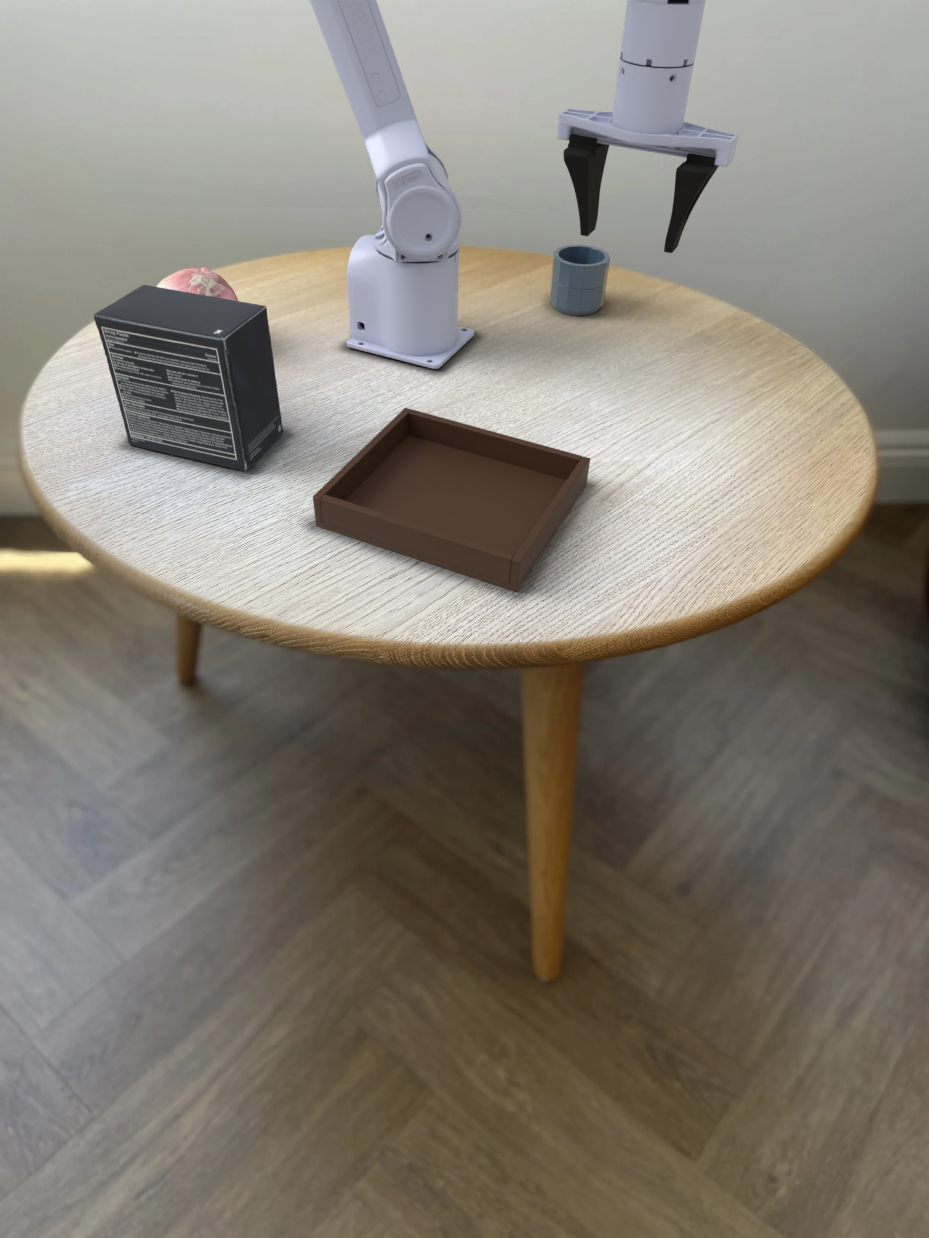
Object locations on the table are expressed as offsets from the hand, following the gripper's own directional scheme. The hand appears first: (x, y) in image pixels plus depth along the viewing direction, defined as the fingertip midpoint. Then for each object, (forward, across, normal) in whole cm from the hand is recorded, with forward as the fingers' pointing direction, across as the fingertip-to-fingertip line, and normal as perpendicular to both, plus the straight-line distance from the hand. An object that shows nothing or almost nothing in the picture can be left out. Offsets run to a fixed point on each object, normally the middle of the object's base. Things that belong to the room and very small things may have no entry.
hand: (628, 240), depth 76 cm
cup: (+9, +6, -5) cm, 12 cm away
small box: (+9, +22, +32) cm, 40 cm away
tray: (+9, +1, +31) cm, 33 cm away
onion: (+9, +32, +21) cm, 39 cm away
